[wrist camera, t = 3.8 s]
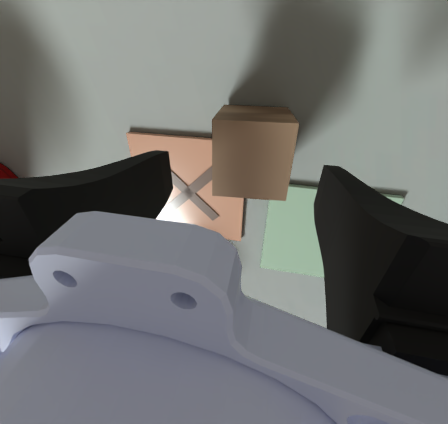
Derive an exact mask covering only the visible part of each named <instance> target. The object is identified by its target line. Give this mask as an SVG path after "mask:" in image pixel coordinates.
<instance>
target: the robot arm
mask: <svg viewBox="0 0 448 424" xmlns="http://www.w3.org/2000/svg"><path fill="white" fill-rule="evenodd" d="M172 190H173V182H172V174H171V166H170V158H169V151H160V150H154V151H149V152H146V153H142V154H139V155H136V156H133V157H130V158H127V159H124V160H121V161H118V162H114V163H111V164H108V165H104V166H101V167H97V168H93V169H89V170H84V171H79V172H73V173H67V174H60V175H53V176H43V177H31V178H14V179H0V424H448V224H447V223H444V222H441V221H438V220H435V219H433V218H430V217H428V216H425V215H423V214H420V213H418V212H415V211H413V210H411V209H409V208H407V207H404V206H402V205H400V204H398V203H396V202H394V201H392V200H391V199H389V198H387V197H385V196H384V195H382V194H380V193H379V192H377V191H375V190H374V189H372V188H371V187H369V186H368V185H366V184H365V183H363V182H362V181H360V180H359V179H357V178H356V177H355V176H353V175H352V174H350V173H349V172H348V171H346V170H345V169H343V168H341V167H339V166H329V165H324V167H323V170H322V174H321V178H320V182H319V185H318V189H317V193H316V197H315V201H314V222H315V227H316V232H317V237H318V242H319V247H320V252H321V256H322V262H323V268H324V280H325V295H326V314H327V328H324V327H322V326H319V325H317V324H314V323H312V322H309V321H307V320H305V319H302V318H300V317H297V316H295V315H292V314H290V313H288V312H285V311H283V310H280V309H278V308H275V307H273V306H270V305H268V304H266V303H263V302H261V301H258V300H256V299H253V298H251V297H248V296H246V295H244V294H243V293H242V291H241V271H242V265H241V262H240V258H239V255H238V252H237V249H236V248H235V247H234V246H233V245H232V244H231V243H230V242H229V241H228V240H226V239H225V238H224V237H223V236H222V235H221V234H220V233H218V232H215V231H212V230H210V229H207V228H204V227H201V226H198V225H195V224H189V223H181V222H174V221H166V220H159V219H156V218H157V217H158V215H159V214H160V212H161V211H162V209H163V208H164V206H165V205H166V203H167V201H168V199H169V197H170V195H171V192H172Z"/></svg>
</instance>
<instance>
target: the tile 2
mask: <svg viewBox="0 0 448 424" xmlns="http://www.w3.org/2000/svg"><path fill="white" fill-rule="evenodd" d="M317 189H318V187H314V186H304V185H294V184H289V186H288V192H287V198H286V201H278V200H269V205H268V212H267V220H266V227H265V234H264V242H263V249H262V256H261V263H260V268H266V269H272V270H279V271H285V272H291V273H298V274H304V275H310V276H317V277H323V278H324V268H323V262H322V256H321V252H320V247H319V242H318V237H317V232H316V227H315V222H314V201H315V197H316V193H317ZM380 194H381V193H380ZM382 195H384V196H385V197H387V198H389V199H391V200H392V201H394V202H396V203H398V204H400V205H401V204H402V202H403V200H404V198H403V196H401V195H391V194H382Z"/></svg>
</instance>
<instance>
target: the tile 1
mask: <svg viewBox="0 0 448 424" xmlns="http://www.w3.org/2000/svg"><path fill="white" fill-rule="evenodd" d="M126 135H127V140H128V144H129V149H130V153H131V157H133V156H136V155H139V154H142V153H146V152H149V151H154V150H160V151H169V158H170V166H171V174H172V182H173V190H172V192H171V195H170V197H169V199H168V201H167V203H166V205H165V206H164V208H163V209H162V211H161V212H160V214H159V215H158V217H157V218H156V219H159V220H166V221H174V222H181V223H189V224H195V225H198V226H201V227H204V228H207V229H210V230H212V231H215V232H218V233H220V234H221V235H222V236H223V237H224V238H225V239H229V240H236V241H241V236H242V221H243V206H244V198H236V197H223V196H212V138H202V137H190V136H177V135H164V134H152V133H139V132H128V133H126Z"/></svg>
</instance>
